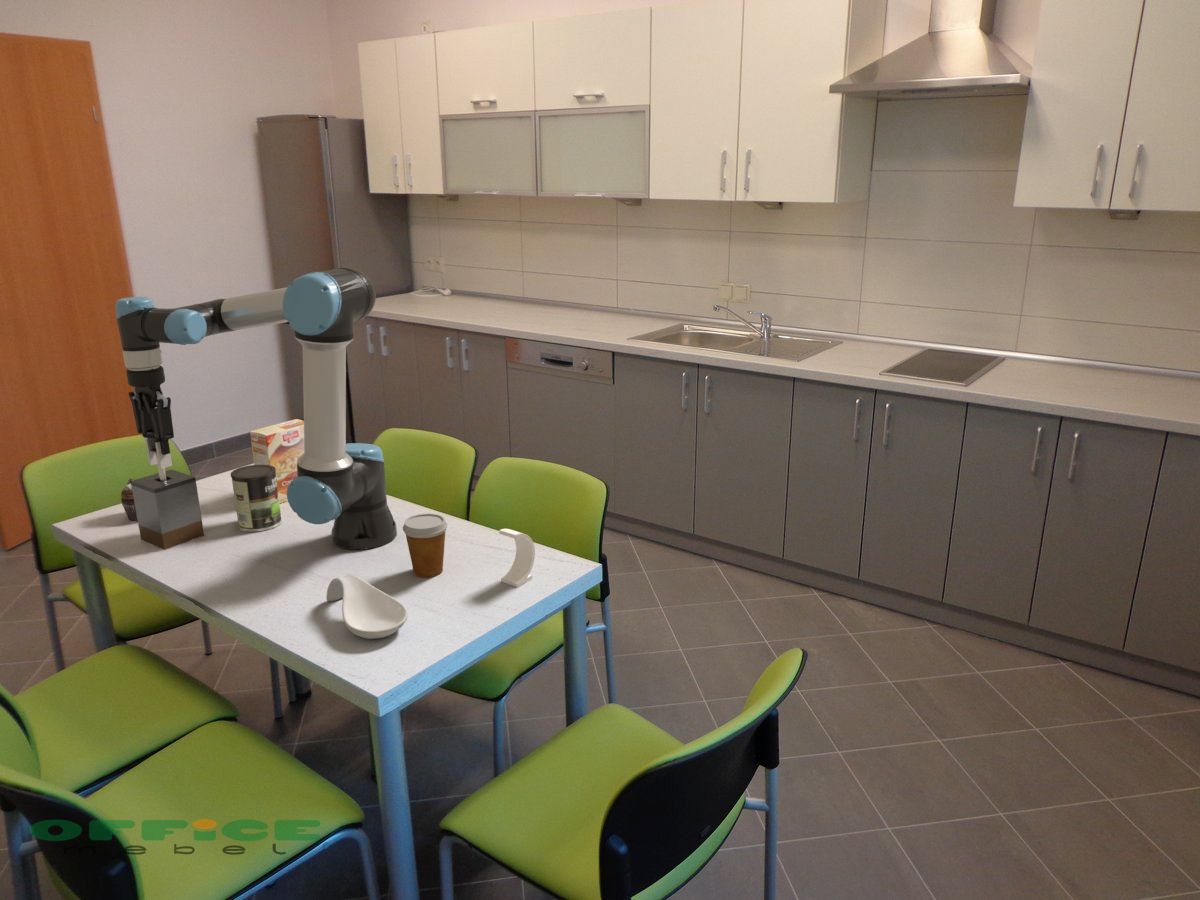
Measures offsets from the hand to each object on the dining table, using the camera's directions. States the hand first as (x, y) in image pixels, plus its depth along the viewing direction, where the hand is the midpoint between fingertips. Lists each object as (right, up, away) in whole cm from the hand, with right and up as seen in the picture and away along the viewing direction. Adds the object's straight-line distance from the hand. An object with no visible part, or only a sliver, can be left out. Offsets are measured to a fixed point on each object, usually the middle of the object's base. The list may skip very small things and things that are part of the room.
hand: (160, 465), depth 200 cm
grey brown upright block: (0, -18, +6) cm, 18 cm away
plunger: (0, -13, +4) cm, 14 cm away
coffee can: (+18, -15, +14) cm, 27 cm away
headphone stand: (+85, -25, -15) cm, 90 cm away
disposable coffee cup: (+65, -23, -11) cm, 70 cm away
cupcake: (-14, -14, +19) cm, 27 cm away
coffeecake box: (+18, -9, +33) cm, 39 cm away
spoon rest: (+56, -30, -32) cm, 71 cm away
